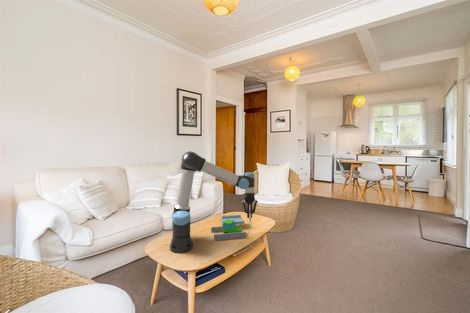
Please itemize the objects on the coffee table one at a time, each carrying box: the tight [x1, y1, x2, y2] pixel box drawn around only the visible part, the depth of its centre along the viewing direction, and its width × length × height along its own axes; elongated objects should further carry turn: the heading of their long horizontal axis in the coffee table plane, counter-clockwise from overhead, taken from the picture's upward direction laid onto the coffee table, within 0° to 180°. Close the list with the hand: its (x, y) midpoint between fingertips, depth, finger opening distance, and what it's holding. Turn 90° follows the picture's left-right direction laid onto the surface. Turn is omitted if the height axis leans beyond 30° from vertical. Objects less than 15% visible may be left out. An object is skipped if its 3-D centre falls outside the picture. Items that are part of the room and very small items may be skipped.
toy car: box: [223, 220, 243, 234], centre depth 176 cm, size 10×13×10 cm
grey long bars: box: [210, 224, 247, 241], centre depth 175 cm, size 24×16×4 cm
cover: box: [220, 214, 245, 226], centre depth 191 cm, size 13×19×8 cm
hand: (249, 221), depth 179 cm, fingers closed
